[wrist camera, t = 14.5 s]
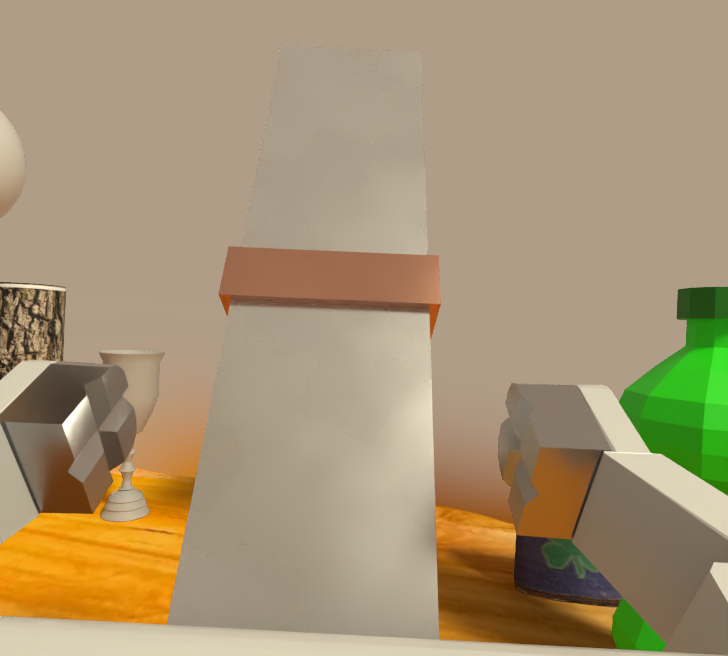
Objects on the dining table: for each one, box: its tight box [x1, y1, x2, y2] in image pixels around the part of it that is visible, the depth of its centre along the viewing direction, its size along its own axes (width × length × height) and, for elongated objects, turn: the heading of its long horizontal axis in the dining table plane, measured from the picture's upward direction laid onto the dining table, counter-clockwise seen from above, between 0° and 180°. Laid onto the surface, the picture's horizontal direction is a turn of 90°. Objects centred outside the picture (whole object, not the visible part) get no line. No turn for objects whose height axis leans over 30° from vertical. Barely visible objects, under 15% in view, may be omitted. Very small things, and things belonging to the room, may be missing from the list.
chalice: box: [98, 350, 165, 522], centre depth 58 cm, size 7×7×18 cm
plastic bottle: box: [612, 287, 728, 652], centre depth 31 cm, size 10×10×25 cm
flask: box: [514, 533, 623, 607], centre depth 44 cm, size 9×3×11 cm, turn 77°
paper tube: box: [0, 282, 66, 380], centre depth 58 cm, size 7×7×25 cm
